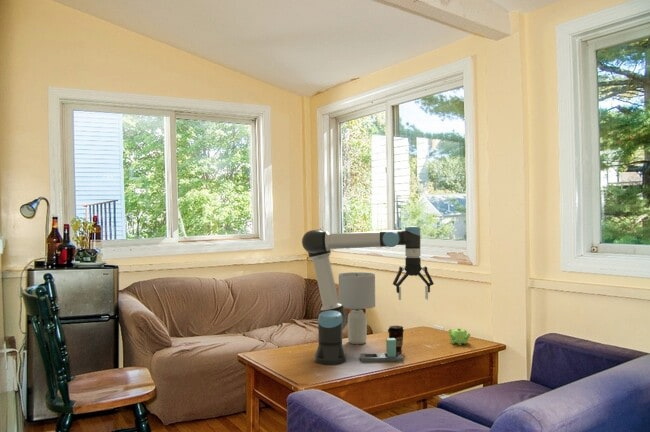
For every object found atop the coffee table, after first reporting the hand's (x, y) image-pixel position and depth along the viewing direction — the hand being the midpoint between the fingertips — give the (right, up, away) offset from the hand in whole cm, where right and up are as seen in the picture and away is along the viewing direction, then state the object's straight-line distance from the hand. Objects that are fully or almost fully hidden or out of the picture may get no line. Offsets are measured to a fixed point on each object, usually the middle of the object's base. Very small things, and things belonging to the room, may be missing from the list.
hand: (413, 299), depth 260 cm
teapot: (+29, -29, +25) cm, 48 cm away
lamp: (-26, -29, +30) cm, 49 cm away
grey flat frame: (-17, -29, -5) cm, 34 cm away
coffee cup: (-7, -29, +10) cm, 31 cm away
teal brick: (-12, -29, -5) cm, 31 cm away
